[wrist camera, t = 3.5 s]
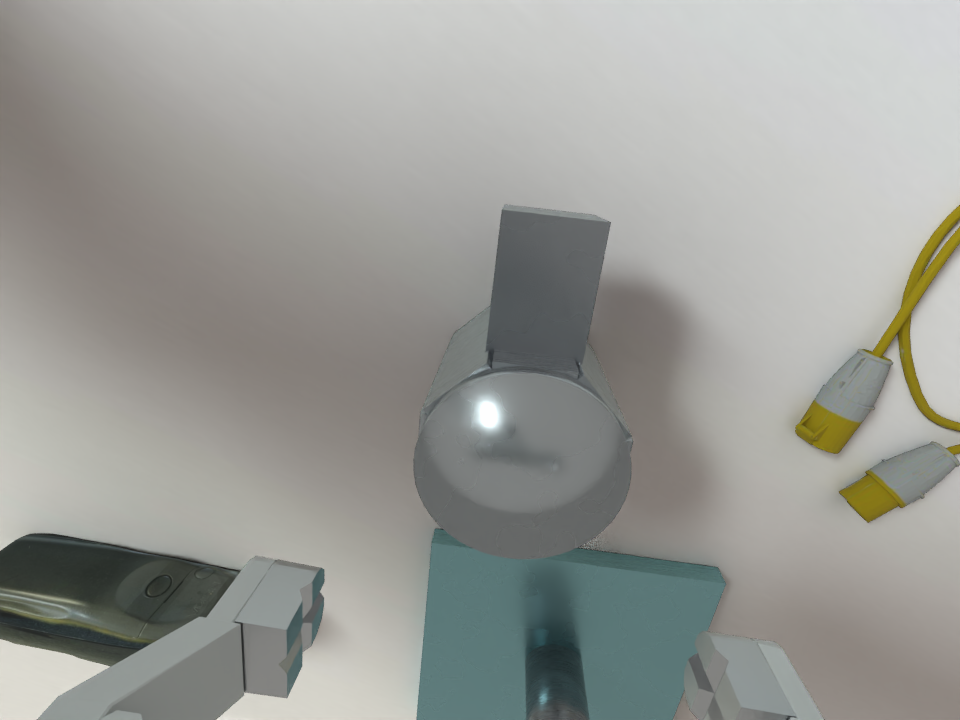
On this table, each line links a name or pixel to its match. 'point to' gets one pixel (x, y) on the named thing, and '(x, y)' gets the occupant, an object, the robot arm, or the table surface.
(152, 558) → the mobile phone
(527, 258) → the tabbed metal cylinder
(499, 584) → the flat teal square plate
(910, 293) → the yellow thin looped cord
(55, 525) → the table surface
